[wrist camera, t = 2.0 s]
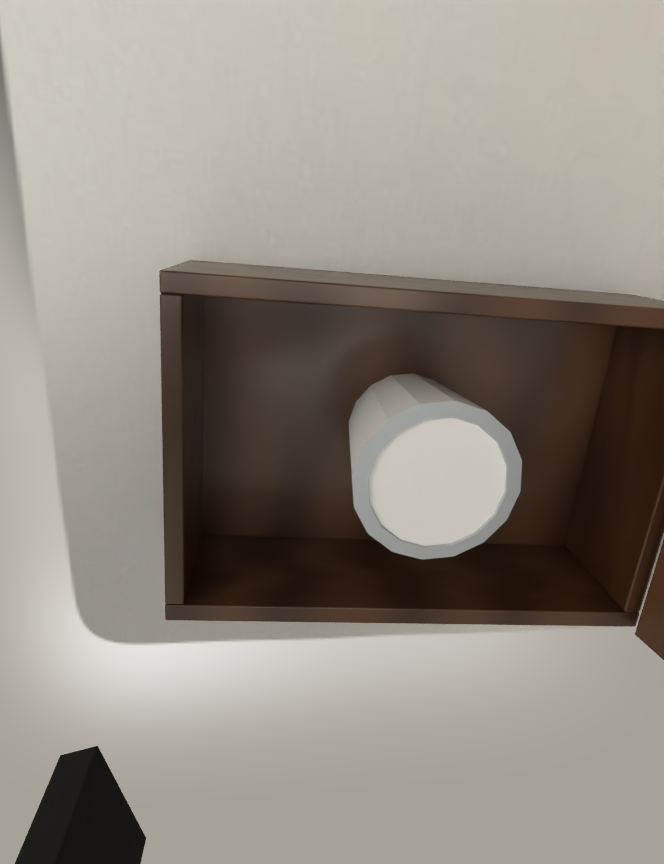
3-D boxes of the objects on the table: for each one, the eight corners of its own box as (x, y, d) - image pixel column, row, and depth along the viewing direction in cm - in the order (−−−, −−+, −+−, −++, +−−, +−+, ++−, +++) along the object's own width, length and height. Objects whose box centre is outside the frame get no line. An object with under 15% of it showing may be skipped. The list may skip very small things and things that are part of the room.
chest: (189, 540, 31) (165, 620, 25) (188, 259, 26) (159, 269, 20) (567, 550, 33) (635, 627, 27) (630, 294, 29) (731, 313, 22)
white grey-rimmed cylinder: (310, 453, 29) (319, 518, 22) (381, 335, 27) (412, 368, 21) (422, 509, 31) (461, 586, 24) (495, 401, 29) (558, 451, 22)
